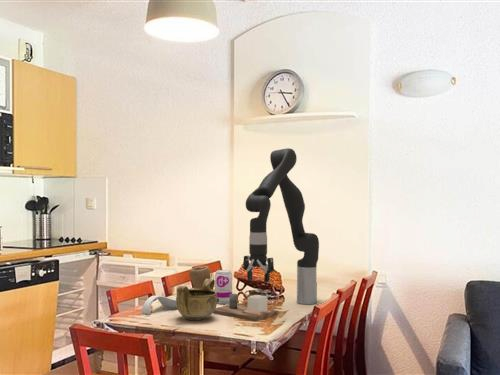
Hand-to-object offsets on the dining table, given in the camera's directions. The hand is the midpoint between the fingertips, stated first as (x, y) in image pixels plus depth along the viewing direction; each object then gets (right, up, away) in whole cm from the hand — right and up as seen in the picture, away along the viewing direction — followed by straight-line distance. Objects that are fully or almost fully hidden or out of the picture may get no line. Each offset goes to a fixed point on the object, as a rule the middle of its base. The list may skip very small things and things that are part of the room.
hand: (258, 281), depth 221 cm
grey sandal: (-41, -15, +10) cm, 45 cm away
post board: (-6, -15, +4) cm, 16 cm away
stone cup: (-27, -15, +43) cm, 53 cm away
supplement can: (-16, -15, +27) cm, 35 cm away
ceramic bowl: (-25, -14, -6) cm, 30 cm away
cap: (0, -12, 0) cm, 12 cm away
